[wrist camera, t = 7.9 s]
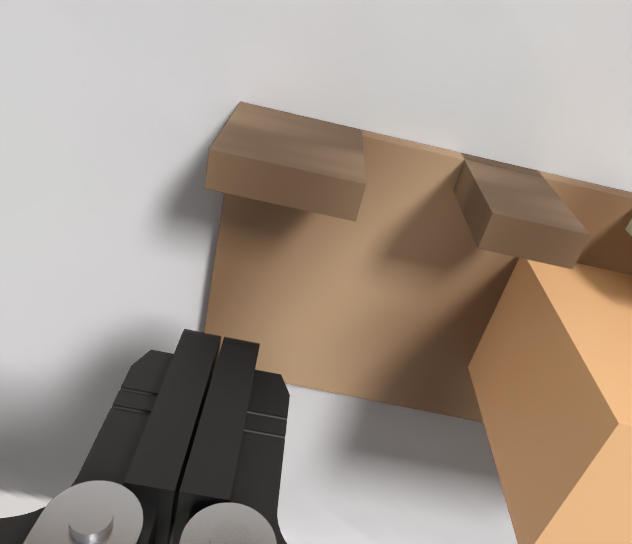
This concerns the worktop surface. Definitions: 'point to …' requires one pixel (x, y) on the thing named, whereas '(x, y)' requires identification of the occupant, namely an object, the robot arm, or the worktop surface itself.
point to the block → (561, 402)
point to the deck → (384, 253)
